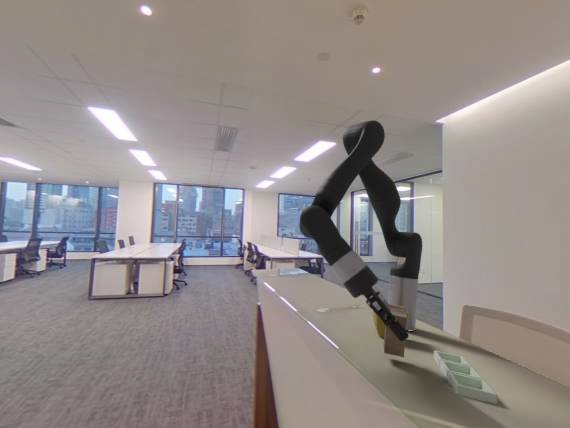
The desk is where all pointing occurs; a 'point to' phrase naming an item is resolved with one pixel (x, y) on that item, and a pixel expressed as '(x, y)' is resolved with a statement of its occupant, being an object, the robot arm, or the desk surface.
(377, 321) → the flower pot
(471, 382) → the tray
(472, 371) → the tray
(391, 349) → the brown wooden block
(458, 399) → the desk surface
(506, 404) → the desk surface
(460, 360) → the tray
